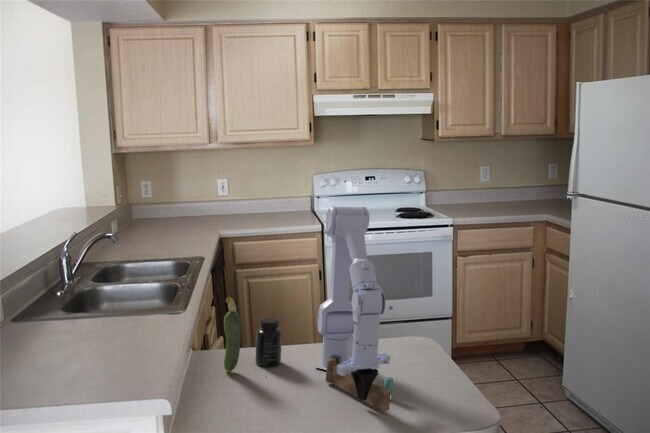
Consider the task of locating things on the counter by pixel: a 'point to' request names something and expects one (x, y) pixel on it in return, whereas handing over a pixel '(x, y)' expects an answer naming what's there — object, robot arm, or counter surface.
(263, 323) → the supplement bottle
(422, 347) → the counter surface
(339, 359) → the hinge post
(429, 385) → the counter surface
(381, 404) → the wooden plank
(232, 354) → the vegetable
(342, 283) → the robot arm
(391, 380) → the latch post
